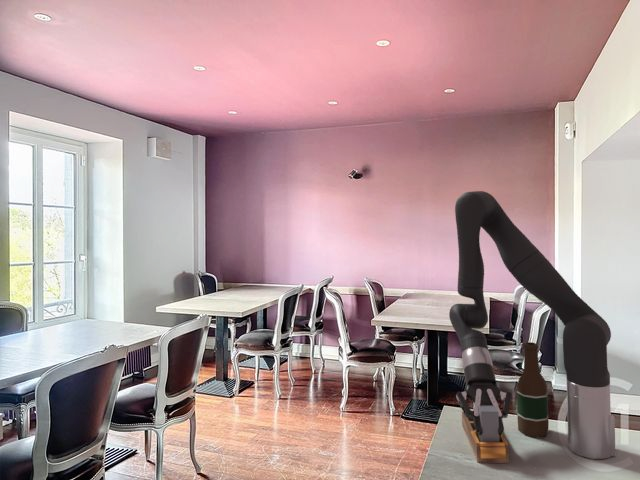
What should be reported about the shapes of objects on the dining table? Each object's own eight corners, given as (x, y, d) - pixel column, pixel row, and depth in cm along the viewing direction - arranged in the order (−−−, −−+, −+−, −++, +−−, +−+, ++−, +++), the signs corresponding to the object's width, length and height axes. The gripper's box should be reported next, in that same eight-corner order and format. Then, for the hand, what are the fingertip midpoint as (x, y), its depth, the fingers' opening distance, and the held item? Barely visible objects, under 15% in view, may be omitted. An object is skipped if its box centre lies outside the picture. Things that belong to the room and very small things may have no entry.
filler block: (495, 442, 115) (494, 405, 115) (499, 450, 111) (498, 411, 111) (478, 442, 115) (477, 404, 115) (482, 450, 111) (481, 411, 111)
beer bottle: (553, 438, 120) (550, 347, 119) (521, 437, 122) (518, 347, 121) (544, 426, 128) (542, 339, 127) (514, 424, 129) (512, 339, 128)
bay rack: (488, 426, 129) (488, 410, 129) (509, 464, 109) (508, 445, 108) (462, 425, 130) (461, 409, 130) (477, 463, 109) (477, 444, 109)
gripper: (452, 361, 121) (461, 427, 109) (508, 361, 119) (524, 428, 107) (449, 374, 126) (458, 439, 115) (503, 374, 124) (518, 440, 113)
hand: (490, 433), depth 111 cm, fingers closed on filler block, 4 cm apart
